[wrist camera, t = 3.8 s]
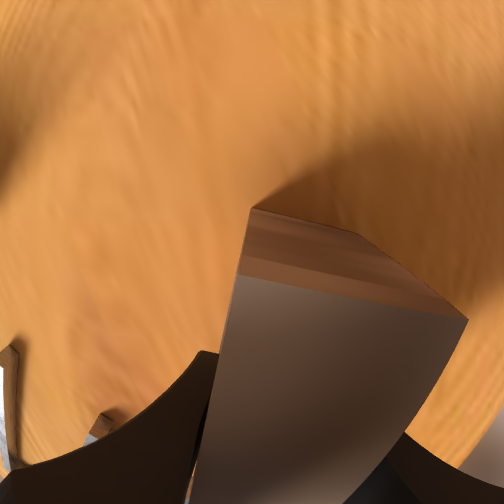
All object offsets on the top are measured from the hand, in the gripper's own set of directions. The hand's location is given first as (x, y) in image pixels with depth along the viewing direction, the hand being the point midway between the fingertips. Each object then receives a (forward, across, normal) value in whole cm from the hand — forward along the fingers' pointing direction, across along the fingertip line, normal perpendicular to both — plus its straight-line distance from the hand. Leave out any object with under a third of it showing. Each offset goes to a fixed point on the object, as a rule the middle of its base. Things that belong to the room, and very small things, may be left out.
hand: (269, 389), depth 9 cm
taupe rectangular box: (+2, 0, 0) cm, 2 cm away
